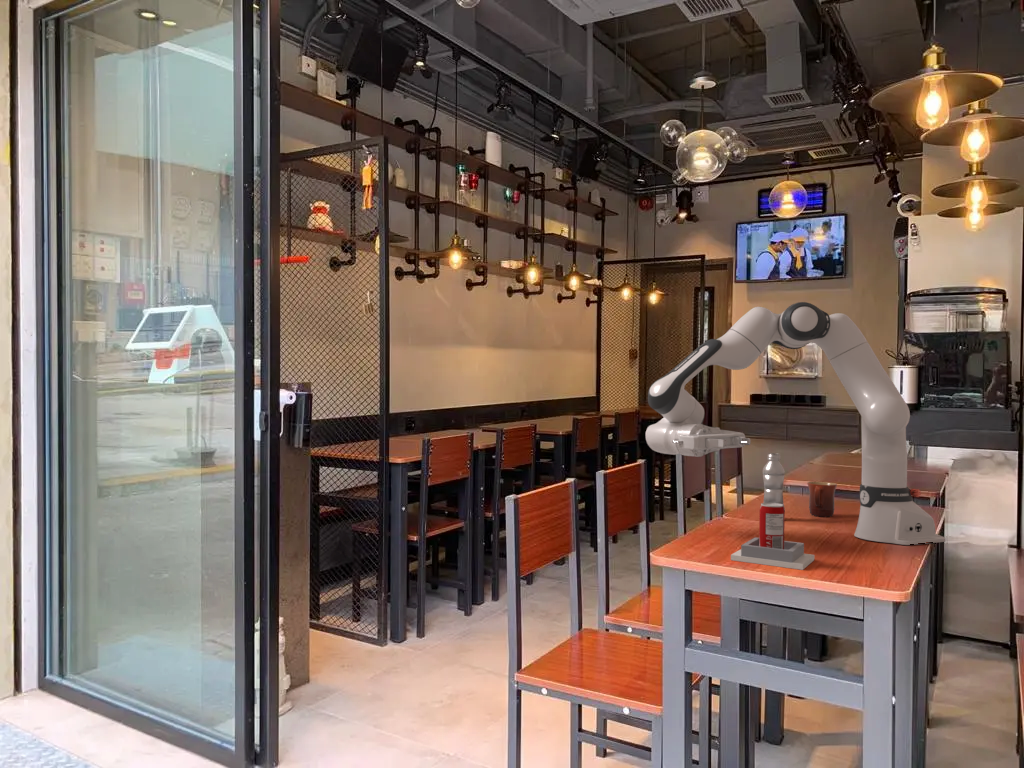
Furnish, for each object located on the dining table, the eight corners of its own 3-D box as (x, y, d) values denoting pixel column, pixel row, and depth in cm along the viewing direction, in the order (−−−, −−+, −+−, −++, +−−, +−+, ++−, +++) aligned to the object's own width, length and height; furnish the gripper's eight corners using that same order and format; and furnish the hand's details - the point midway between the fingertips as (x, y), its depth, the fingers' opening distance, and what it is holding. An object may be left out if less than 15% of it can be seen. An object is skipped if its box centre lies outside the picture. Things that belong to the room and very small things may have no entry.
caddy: (745, 551, 188) (745, 536, 188) (814, 560, 180) (814, 544, 180) (730, 560, 178) (731, 544, 178) (802, 569, 169) (803, 553, 169)
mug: (810, 512, 249) (810, 480, 249) (838, 515, 245) (839, 483, 245) (801, 517, 239) (802, 484, 239) (831, 520, 235) (831, 487, 235)
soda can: (769, 551, 183) (769, 500, 183) (788, 555, 178) (789, 503, 178) (754, 553, 180) (754, 502, 180) (774, 558, 175) (774, 505, 175)
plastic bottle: (787, 521, 232) (788, 455, 232) (765, 520, 232) (766, 454, 233) (780, 517, 239) (781, 453, 239) (758, 517, 239) (759, 452, 239)
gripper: (668, 429, 201) (709, 431, 190) (719, 427, 213) (761, 428, 202) (668, 453, 201) (710, 457, 190) (719, 449, 213) (761, 452, 202)
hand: (737, 442), depth 196 cm, fingers open, 8 cm apart
